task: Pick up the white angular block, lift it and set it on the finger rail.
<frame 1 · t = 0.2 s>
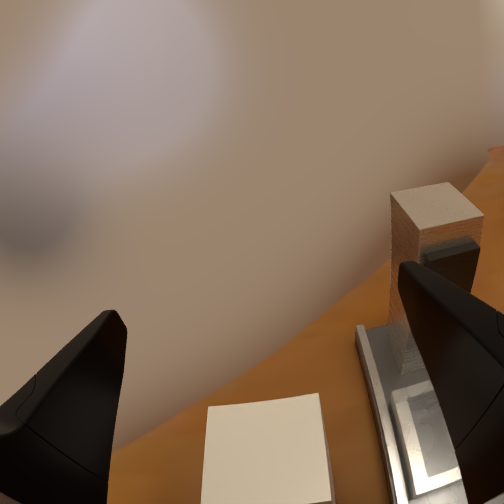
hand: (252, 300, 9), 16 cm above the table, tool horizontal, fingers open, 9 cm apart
finger rail: (449, 467, 14), on the table
white angular block: (304, 503, 16), on the table
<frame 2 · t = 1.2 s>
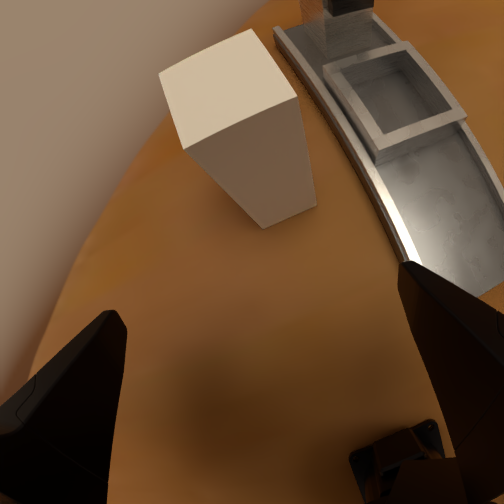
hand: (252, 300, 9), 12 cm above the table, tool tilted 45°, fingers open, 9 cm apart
finger rail: (402, 139, 20), on the table
white angular block: (278, 191, 22), on the table
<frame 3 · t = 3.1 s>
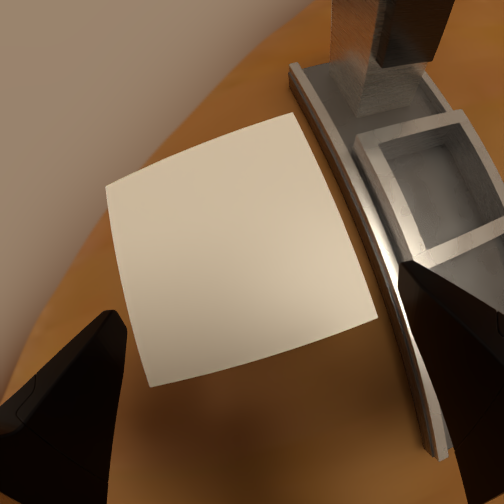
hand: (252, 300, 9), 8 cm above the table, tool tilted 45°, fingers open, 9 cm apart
finger rail: (435, 236, 17), on the table
white angular block: (277, 295, 17), on the table
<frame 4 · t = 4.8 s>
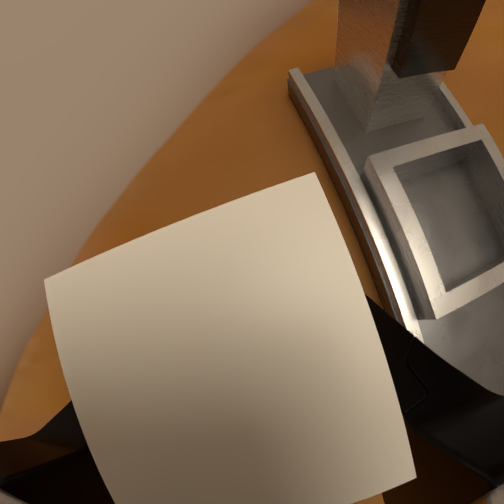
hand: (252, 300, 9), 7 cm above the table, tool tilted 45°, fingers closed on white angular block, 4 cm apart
finger rail: (450, 265, 15), on the table
white angular block: (276, 335, 15), on the table, touching gripper
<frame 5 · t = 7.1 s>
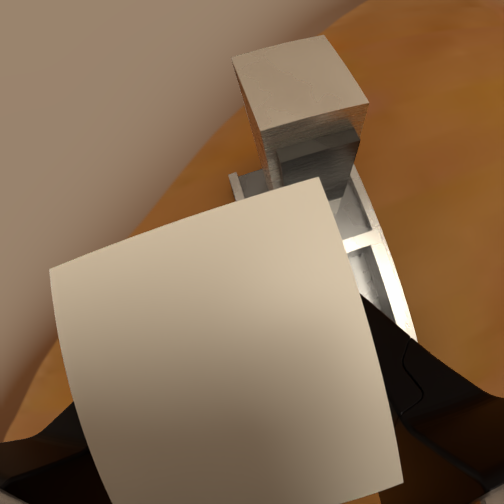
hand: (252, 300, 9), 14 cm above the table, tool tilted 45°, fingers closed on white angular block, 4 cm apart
finger rail: (343, 332, 22), on the table
white angular block: (276, 335, 16), point 7 cm above the table, touching gripper
when the fingers open (9 cm above the table, at t = 9.2 s): white angular block stays where it is, resting on finger rail.
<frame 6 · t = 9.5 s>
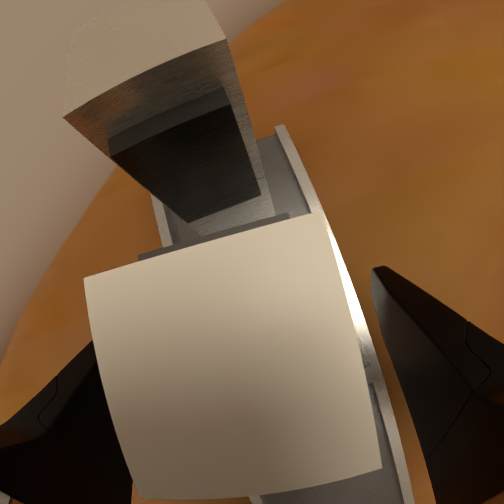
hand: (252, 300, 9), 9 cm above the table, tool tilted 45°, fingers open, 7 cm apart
finger rail: (290, 365, 17), on the table
white angular block: (278, 334, 16), point 1 cm above the table, touching finger rail
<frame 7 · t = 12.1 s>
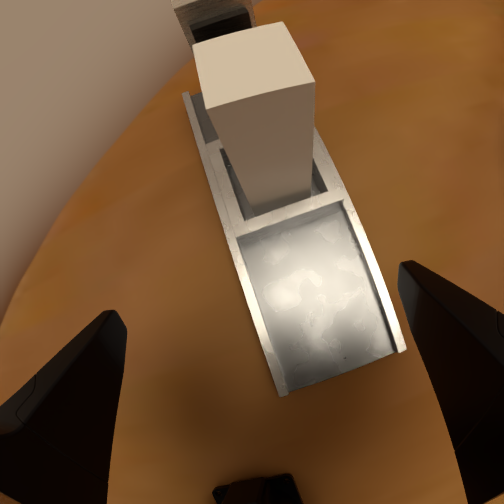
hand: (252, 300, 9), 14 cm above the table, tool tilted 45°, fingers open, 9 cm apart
finger rail: (285, 214, 24), on the table
white angular block: (275, 183, 23), point 1 cm above the table, touching finger rail
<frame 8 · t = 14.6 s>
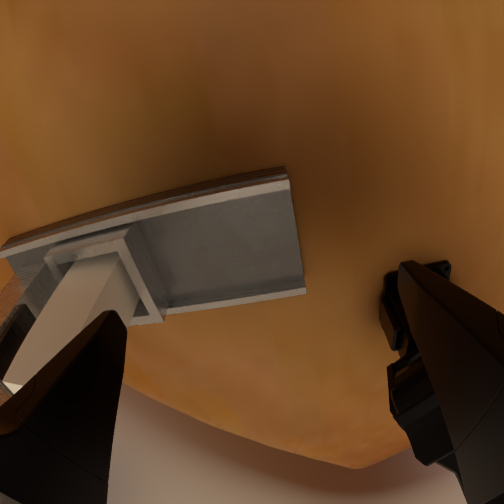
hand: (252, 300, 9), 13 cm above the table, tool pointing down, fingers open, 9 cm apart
finger rail: (140, 254, 24), on the table
white angular block: (112, 269, 23), point 1 cm above the table, touching finger rail
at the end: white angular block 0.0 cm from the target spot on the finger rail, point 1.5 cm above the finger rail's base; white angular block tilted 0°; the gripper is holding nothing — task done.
